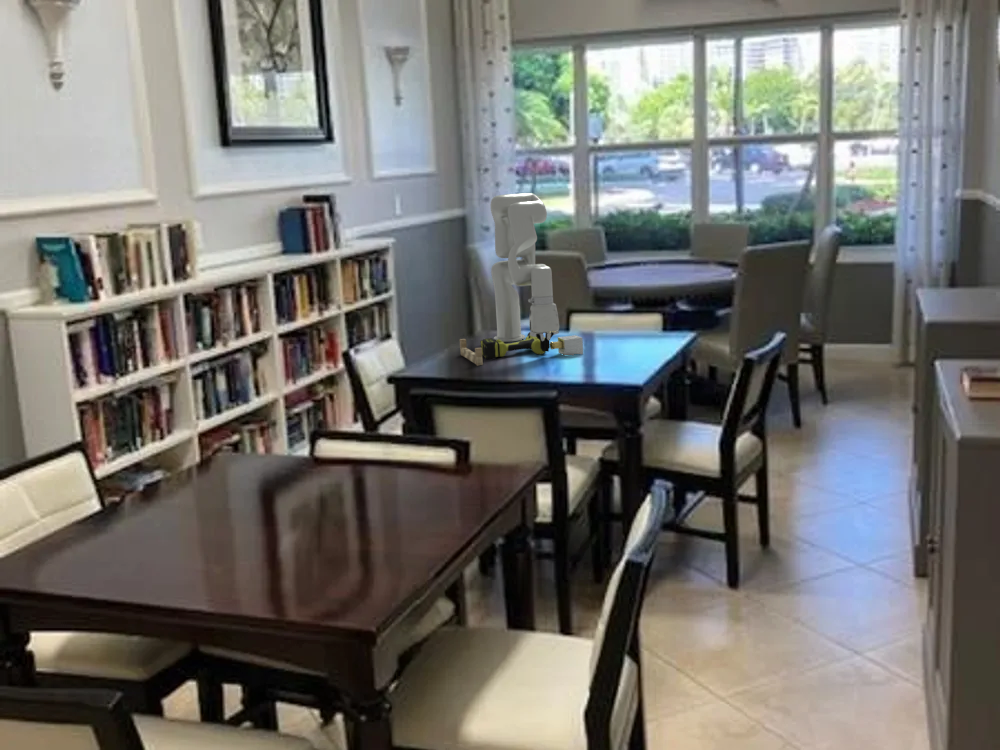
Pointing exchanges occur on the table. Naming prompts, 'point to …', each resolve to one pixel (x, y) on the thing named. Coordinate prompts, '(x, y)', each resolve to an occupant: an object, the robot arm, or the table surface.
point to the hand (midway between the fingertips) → (545, 350)
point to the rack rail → (471, 353)
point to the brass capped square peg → (556, 345)
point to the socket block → (571, 345)
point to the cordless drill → (508, 346)
